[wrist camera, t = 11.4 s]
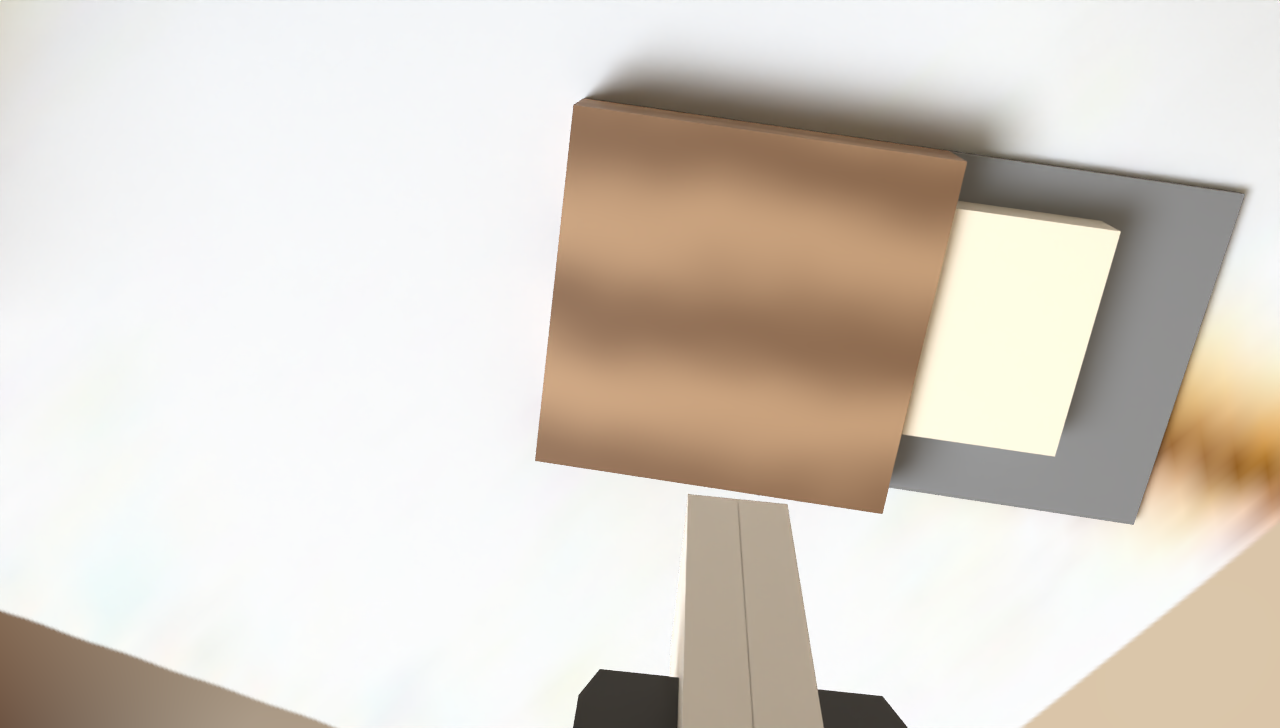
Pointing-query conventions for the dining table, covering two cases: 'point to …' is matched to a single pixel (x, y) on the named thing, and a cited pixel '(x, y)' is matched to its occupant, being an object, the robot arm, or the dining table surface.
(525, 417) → the dining table surface
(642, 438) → the board
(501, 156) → the dining table surface
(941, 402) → the tile
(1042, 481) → the mat
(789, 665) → the robot arm
